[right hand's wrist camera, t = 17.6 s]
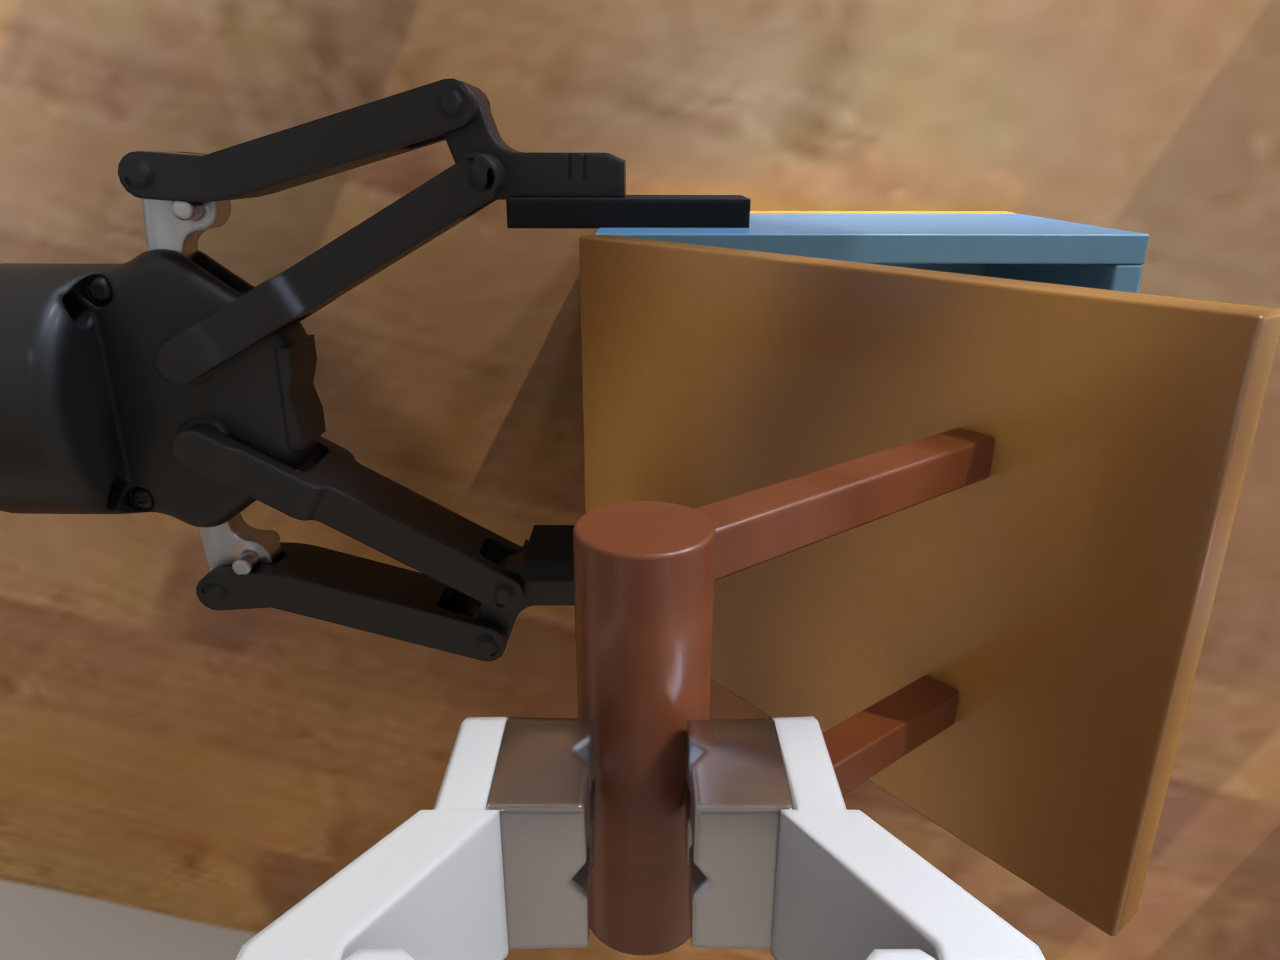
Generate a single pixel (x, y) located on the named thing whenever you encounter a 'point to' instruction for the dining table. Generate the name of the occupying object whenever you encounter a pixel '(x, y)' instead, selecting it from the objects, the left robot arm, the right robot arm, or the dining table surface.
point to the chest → (936, 243)
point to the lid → (901, 547)
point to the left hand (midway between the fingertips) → (737, 393)
